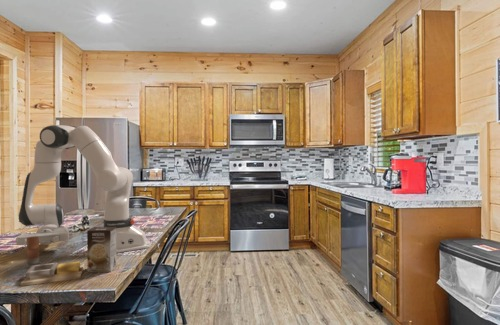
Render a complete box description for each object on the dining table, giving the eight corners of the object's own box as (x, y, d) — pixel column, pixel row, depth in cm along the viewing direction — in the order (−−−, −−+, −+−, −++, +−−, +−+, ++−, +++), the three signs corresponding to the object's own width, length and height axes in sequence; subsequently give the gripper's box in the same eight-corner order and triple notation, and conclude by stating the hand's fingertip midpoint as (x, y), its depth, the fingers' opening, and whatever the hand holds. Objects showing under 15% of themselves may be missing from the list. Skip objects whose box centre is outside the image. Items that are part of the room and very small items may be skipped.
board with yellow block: (84, 266, 129) (84, 257, 129) (80, 278, 116) (79, 268, 116) (31, 272, 122) (31, 263, 122) (20, 286, 109) (20, 275, 109)
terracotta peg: (40, 264, 131) (39, 235, 131) (38, 268, 127) (37, 238, 127) (28, 266, 130) (28, 236, 129) (26, 269, 126) (25, 239, 126)
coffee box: (86, 272, 122) (85, 230, 121) (94, 266, 128) (93, 226, 128) (111, 271, 122) (110, 230, 122) (117, 266, 128) (116, 226, 128)
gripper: (20, 230, 148) (10, 237, 135) (70, 226, 155) (66, 232, 142) (21, 243, 148) (11, 251, 135) (71, 239, 155) (66, 246, 143)
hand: (39, 241), depth 139 cm, fingers open, 8 cm apart
